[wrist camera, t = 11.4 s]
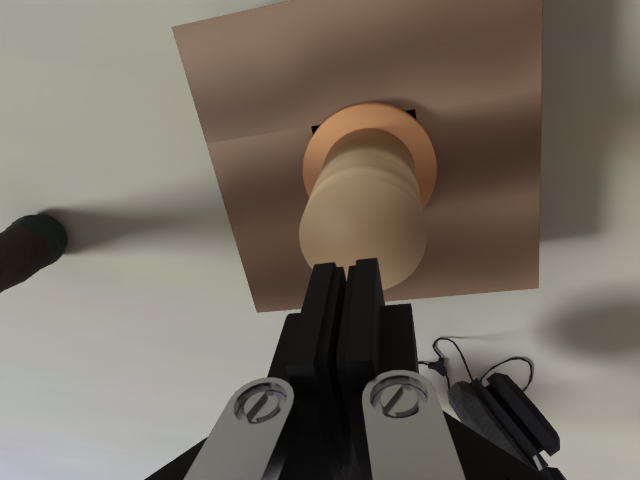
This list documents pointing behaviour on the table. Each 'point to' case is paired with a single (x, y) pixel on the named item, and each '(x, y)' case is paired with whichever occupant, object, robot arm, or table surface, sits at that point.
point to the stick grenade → (29, 248)
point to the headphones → (497, 418)
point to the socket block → (386, 87)
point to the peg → (368, 190)
